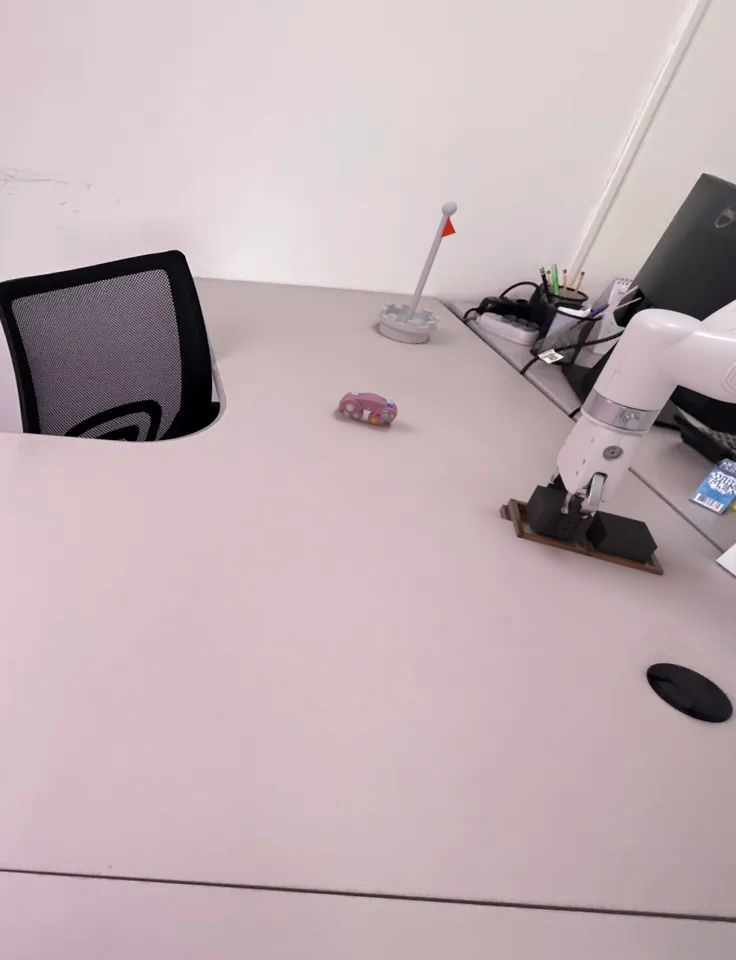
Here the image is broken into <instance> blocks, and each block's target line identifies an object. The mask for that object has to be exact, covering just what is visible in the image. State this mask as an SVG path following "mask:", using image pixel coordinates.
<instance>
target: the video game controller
mask: <svg viewBox="0 0 736 960" xmlns="http://www.w3.org/2000/svg"><path fill="white" fill-rule="evenodd" d="M338 410H339V411H340V412H344V411H345V412H346V413H348V416H349V417H350V418H351V419H353V420H355V421H358V420H361V419H362V418H363V416H364V414H365V411H367V412H369V413H368V415H367V422H368V423H369V424H370V425H371V424H372V425H379V424H380V423H383V422H386V423H388V424H391V423H392V422H393V421H395V419H396V418H397V416H398V406H397V404H396V403H395V402H394V400H393V399H386V398H384V397H383V396H381V395H379V394H377V393H373V392H358V391H356V390H352V391H350V392H348V393H346V394H344V395H343V397H342V398H341V400H340V401H339V403H338Z"/></svg>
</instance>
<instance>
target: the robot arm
mask: <svg viewBox="0 0 736 960" xmlns="http://www.w3.org/2000/svg"><path fill="white" fill-rule="evenodd" d="M677 386H681V387H684V388H685V389H689V390H691V391H694V392H696V393H699V394H701V395H704V396H706V397H709V398H712V399H715V400H717V401H722V402H725V403H729V404H730V403H732V404H736V299H734V300H733V301H731V302H729V303H728V304H726V305H724V306H723V307H721V308H719V309H718V310H717V311H714V312H713V313H711V314H710V315H708V316H707V317H706V318H704V319H703V320H700V319H697V318H695V317H693V316H691V315H688V314H686V313H682V312H678V311H674V310H670V309H665V308H664V309H663V308H646V309H643V310H640V311H638V312H637V313H635V314H634V315H633V316H632V317H631V319H630V320H629V322H628V323H627V325H626V327H625V329H624V331H623V332H622V334H621V336H620V338H619V339H618V341H617V343H616V345H615V347H614V348H613V350H612V352H611V354H610V356H609V358H608V360H607V361H606V363H605V365H604V367H603V368H602V370H601V372H600V374H599V375H598V377H597V379H596V381H595V383H594V384H593V386H592V388H591V389H590V391H589V393H588V395H587V397H586V399H585V401H584V402H583V404H582V405H581V408H580V413H581V414H582V415H581V416H580V417H579V418H578V420H577V422H576V423H575V424H574V426H573V428H572V429H571V431H570V433H569V434H568V436H567V437H566V439H565V441H564V443H563V445H562V446H561V448H560V450H559V453H558V455H557V457H556V470H555V472H553V474H551V476H550V479H549V481H550V482H548V484H547V485H546V487H548V488H552V489H556V490H560V491H564V492H568V493H567V496H566V499H565V501H564V504H563V506H562V509H557V511H556V513H555V514H554V516H553V518H552V519H551V521H550V523H549V524H548V526H547V528H546V530H545V531H546V533H547V534H546V535H549V536H553V537H556V538H561V539H564V540H568V541H571V540H570V539H572V537H573V536H574V534H575V533H576V531H577V529H578V528H579V526H580V525H581V523H582V521H583V520H584V519H586V518H587V516H588V515H589V514H590V513H591V514H592V513H596V511H597V510H599V506H600V503H608V502H610V501H611V500H612V498H613V497H614V495H615V493H616V492H617V490H618V488H619V487H620V484H621V483H622V482H623V480H624V478H625V476H626V474H627V472H628V470H629V469H630V466H631V465H632V463H633V460H634V458H635V457H636V454H637V452H638V450H639V447H640V445H641V443H642V439H643V435H645V434H647V433H648V432H649V431H650V429H651V428H652V427H653V425H654V423H655V421H656V420H657V419H658V417H659V415H660V413H661V412H662V410H663V408H664V407H665V405H666V404H667V402H668V400H669V399H670V397H671V396H672V394H673V393H674V391H675V390H676V388H677ZM578 490H586V491H585V492H581V491H578ZM575 497H579V498H583V499H584V501H583V502H581V503H575V504H572V503H573V500H574V498H575Z"/></svg>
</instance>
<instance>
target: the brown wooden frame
mask: <svg viewBox="0 0 736 960" xmlns="http://www.w3.org/2000/svg"><path fill="white" fill-rule="evenodd" d="M527 503H528V501H527V502H526V501H523V500H522V501H521V500H518V499H515V498H509V500H508V502H507V504H504V503H503V504H502V505H501V507H500V509H499V511H500V515H501V519H502V520H506V521H509V522H513V526H514V531H515V534H516V537H517V538H520V539H523V540H526V541H531V542H533V543H537V544H542V545H545V546H549V547H553V548H556V549H561V550H565V551H568V552H572V553H575V554H578V555H583V556H587V557H591V558H592V559H593V558H594V559H597V560H602V561H605V562H608V563H611V564H617V565H619V566H624V567H628V568H631V569H635V570H639V571H641V572H646V573H649V574H654V575H657V576H663V575H664V573H665V571H664V569H663V567H662V565H661V563H660V561H659V560H658V557H657V555H656V553H655V552H654V553H653V554H652V556H651V557H650V558H649V560H648V561H647V562H648V564H647V563H646V564H643V563H639V562H636V561H632V560H628V559H624V558H621V557H617V556H613V555H609V554H606V553H602V552H598V551H595V550H594V549H592V547H591V544H590V542H589V541H588V539H587V536H586V534H584V536H583V537H582V539H581V540H580V542H579V545H580V546H579V545H575V544H572V543H568V542H564V541H560V540H556V539H553V538H550V537H544V536H541V535H538V534H534V533H530V532H526V531H525V529H524V525H525V526H528V527H531V526H530V523H529V519H528V515H527V512H526V508H525V507H526V505H527Z"/></svg>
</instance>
